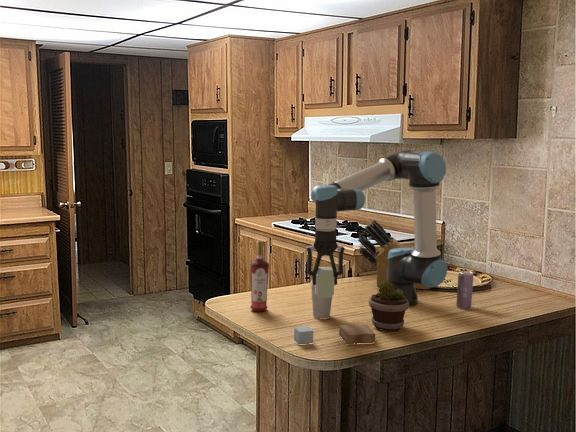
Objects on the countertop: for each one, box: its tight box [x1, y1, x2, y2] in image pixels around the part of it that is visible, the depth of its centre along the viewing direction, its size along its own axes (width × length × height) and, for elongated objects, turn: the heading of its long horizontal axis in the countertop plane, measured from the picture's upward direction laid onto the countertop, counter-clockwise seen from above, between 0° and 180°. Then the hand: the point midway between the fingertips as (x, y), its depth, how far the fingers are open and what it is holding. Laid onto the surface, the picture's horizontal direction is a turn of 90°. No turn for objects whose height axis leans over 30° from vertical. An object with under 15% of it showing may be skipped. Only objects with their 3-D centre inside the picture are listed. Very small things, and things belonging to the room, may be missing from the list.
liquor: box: [249, 239, 270, 312], centre depth 249 cm, size 7×7×28 cm
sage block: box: [317, 266, 333, 299], centre depth 225 cm, size 5×5×10 cm
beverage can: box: [455, 270, 474, 311], centre depth 261 cm, size 6×6×15 cm
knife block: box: [357, 219, 432, 291], centre depth 292 cm, size 11×35×31 cm, turn 82°
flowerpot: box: [368, 278, 409, 332], centre depth 233 cm, size 14×15×20 cm
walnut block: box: [338, 324, 376, 345], centre depth 220 cm, size 10×10×4 cm
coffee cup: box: [309, 280, 336, 319], centre depth 244 cm, size 10×10×15 cm
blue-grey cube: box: [293, 325, 314, 345], centre depth 215 cm, size 5×5×5 cm
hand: (324, 293), depth 225 cm, fingers closed on sage block, 5 cm apart
